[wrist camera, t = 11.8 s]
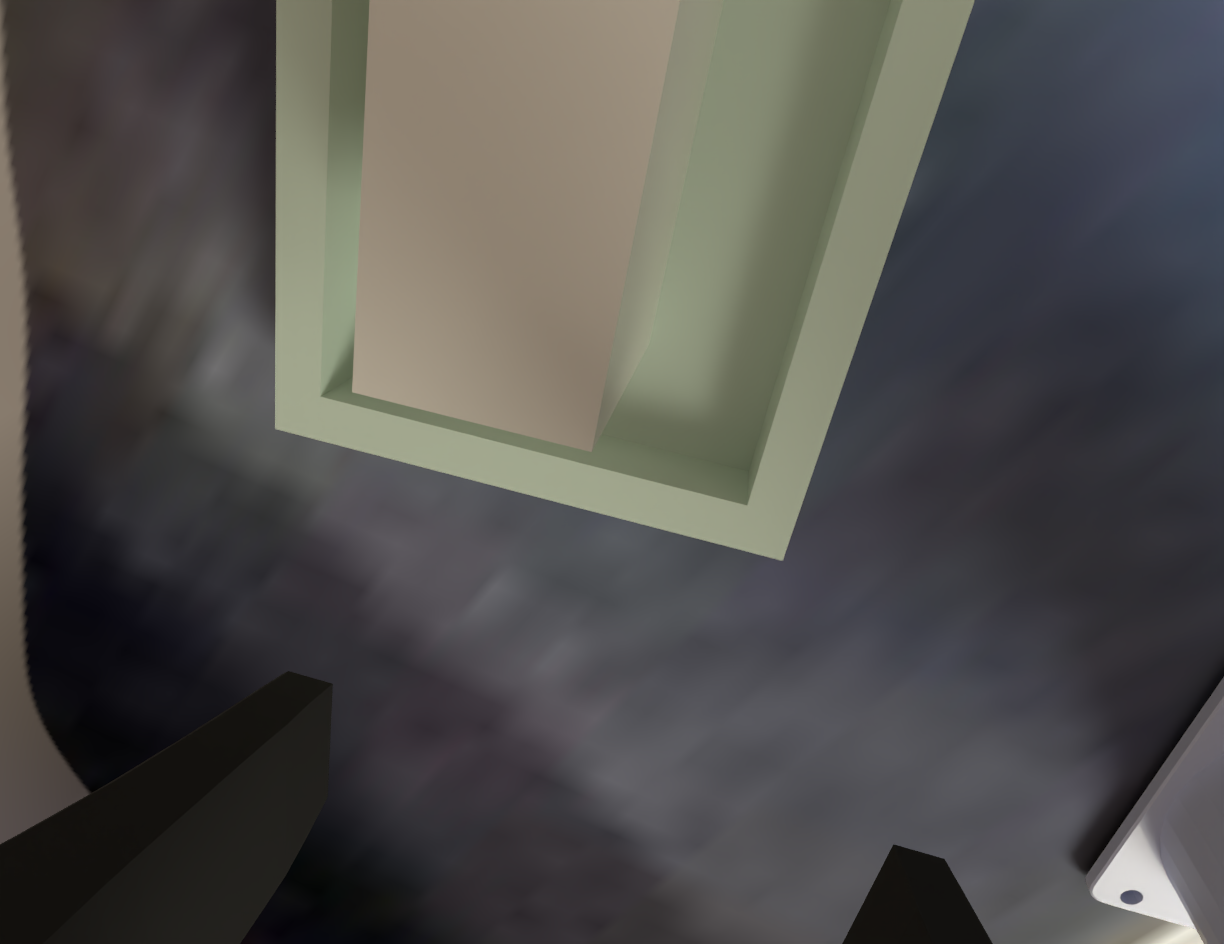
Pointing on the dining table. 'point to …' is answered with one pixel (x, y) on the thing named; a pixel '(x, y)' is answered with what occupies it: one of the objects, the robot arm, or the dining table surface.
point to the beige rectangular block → (521, 202)
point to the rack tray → (694, 275)
